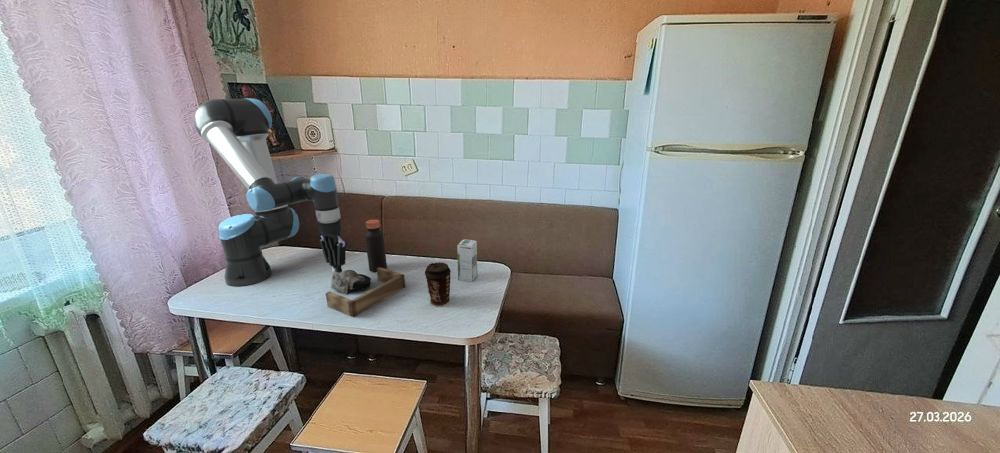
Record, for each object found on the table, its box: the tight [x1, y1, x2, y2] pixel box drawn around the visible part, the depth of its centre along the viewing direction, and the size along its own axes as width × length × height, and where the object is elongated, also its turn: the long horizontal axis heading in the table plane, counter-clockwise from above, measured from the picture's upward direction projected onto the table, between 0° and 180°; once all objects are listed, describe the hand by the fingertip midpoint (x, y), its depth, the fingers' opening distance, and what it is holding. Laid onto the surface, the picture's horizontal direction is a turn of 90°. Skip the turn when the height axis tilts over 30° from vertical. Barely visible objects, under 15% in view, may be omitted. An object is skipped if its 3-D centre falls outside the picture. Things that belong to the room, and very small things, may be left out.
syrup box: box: [456, 239, 478, 283], centre depth 146 cm, size 6×6×14 cm
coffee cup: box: [424, 261, 451, 308], centre depth 130 cm, size 9×8×13 cm
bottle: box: [364, 219, 388, 274], centre depth 153 cm, size 7×7×20 cm
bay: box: [325, 267, 407, 318], centre depth 135 cm, size 12×23×5 cm, turn 149°
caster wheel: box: [330, 269, 372, 295], centre depth 141 cm, size 7×11×10 cm
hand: (338, 281), depth 143 cm, fingers closed
